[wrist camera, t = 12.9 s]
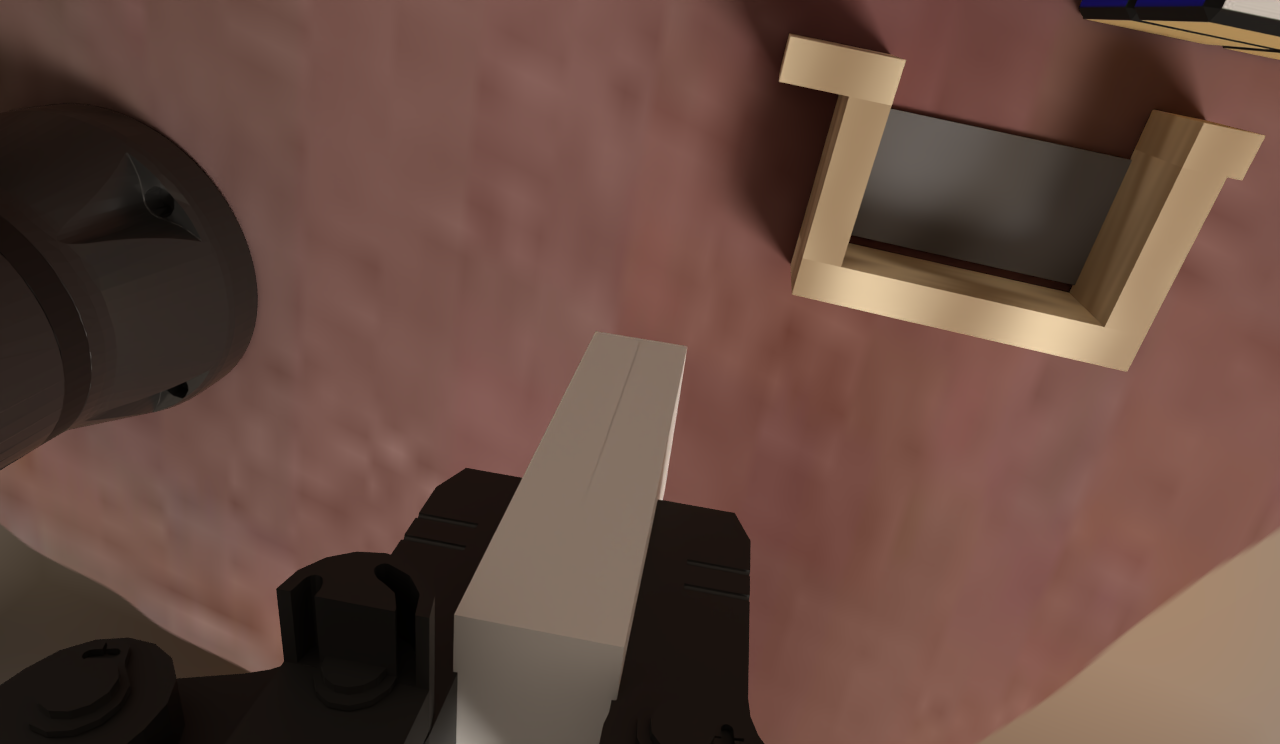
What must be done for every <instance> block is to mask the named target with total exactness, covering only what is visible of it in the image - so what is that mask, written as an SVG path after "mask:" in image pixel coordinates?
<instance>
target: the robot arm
mask: <svg viewBox="0 0 1280 744" xmlns="http://www.w3.org/2000/svg"><path fill="white" fill-rule="evenodd" d="M257 302H258V295H257V282H256V275H255V270H254V265H253V261H252V258H251V254H250V251H249V248H248V245H247V242H246V239H245V237H244V235H243V232H242V230H241V228H240V226H239V224H238V222H237V220H236V218H235V216H234V214H233V212H232V211H231V209H230V207H229V206H228V204H227V202H226V201H225V199H224V198H223V196H222V195H221V193H220V192H219V191H218V189H217V188H216V187H215V185H214V184H213V183H212V182H211V180H210V179H209V178H208V177H207V175H206V174H205V173H204V172H203V171H202V170H201V169H200V168H199V167H198V166H197V164H195V163H194V162H193V161H192V160H191V159H190V158H189V157H188V156H187V155H186V154H185V153H184V152H183V151H181V150H180V149H179V148H178V147H177V146H176V145H174V144H173V143H172V142H170V141H169V140H168V139H166V138H165V137H163V136H162V135H161V134H159V133H158V132H156V131H154V130H153V129H151V128H149V127H148V126H146V125H144V124H142V123H140V122H138V121H136V120H134V119H132V118H130V117H128V116H125V115H123V114H120V113H117V112H115V111H112V110H108V109H105V108H101V107H96V106H91V105H84V104H54V105H46V106H39V107H31V108H24V109H18V110H12V111H8V112H5V113H2V114H0V470H2V469H3V468H5V467H6V466H8V465H10V464H11V463H13V462H15V461H16V460H18V459H19V458H21V457H23V456H24V455H26V454H28V453H29V452H31V451H32V450H34V449H36V448H37V447H39V446H40V445H42V444H44V443H46V442H47V441H49V440H51V439H52V438H54V437H56V436H57V435H59V434H61V433H63V432H65V431H67V430H70V429H75V428H79V427H84V426H89V425H94V424H99V423H104V422H108V421H113V420H118V419H123V418H128V417H132V416H137V415H142V414H147V413H152V412H156V411H160V410H164V409H168V408H171V407H174V406H176V405H179V404H181V403H183V402H185V401H187V400H189V399H191V398H193V397H194V396H196V395H198V394H199V393H201V392H202V391H204V390H205V389H207V388H208V387H210V386H211V385H213V384H214V383H216V382H217V381H219V380H220V379H222V378H223V377H224V376H226V375H227V374H228V373H229V372H230V371H231V370H232V369H233V368H234V367H235V366H236V364H237V363H238V362H239V360H240V359H241V358H242V356H243V354H244V353H245V351H246V349H247V347H248V345H249V343H250V340H251V337H252V334H253V331H254V327H255V322H256V316H257ZM686 352H687V346H682V345H676V344H670V343H664V342H658V341H652V340H645V339H639V338H633V337H627V336H621V335H615V334H609V333H603V332H597V331H596V332H595V334H594V336H593V338H592V340H591V342H590V344H589V346H588V348H587V350H586V352H585V354H584V356H583V358H582V360H581V362H580V364H579V366H578V368H577V370H576V372H575V374H574V376H573V378H572V380H571V382H570V384H569V386H568V388H567V390H566V392H565V394H564V396H563V398H562V400H561V402H560V404H559V406H558V408H557V410H556V412H555V414H554V416H553V418H552V420H551V422H550V424H549V426H548V428H547V430H546V432H545V434H544V436H543V438H542V440H541V442H540V444H539V446H538V448H537V450H536V452H535V454H534V456H533V458H532V460H531V462H530V464H529V466H528V468H527V470H526V472H525V474H524V476H523V478H520V477H514V476H509V475H503V474H497V473H492V472H486V471H481V470H475V469H469V468H465V469H464V470H462V471H461V472H459V473H458V474H456V475H454V476H453V477H451V478H450V479H448V480H447V481H445V482H443V483H442V484H440V485H439V486H437V487H436V488H435V490H434V491H433V493H432V494H431V496H430V497H429V499H428V500H427V502H426V503H425V505H424V506H423V508H422V509H421V511H420V512H419V516H418V518H415V520H414V521H413V523H412V524H411V526H410V527H409V529H408V530H407V532H406V533H405V537H404V540H401V541H400V542H399V544H398V545H397V547H396V548H395V550H394V551H393V553H392V554H391V555H390V554H387V553H372V552H353V553H347V554H342V555H337V556H331V557H326V558H324V559H322V560H319V561H317V562H315V563H313V564H311V565H308V566H306V567H304V568H302V569H300V570H298V571H296V572H295V573H294V574H293V575H292V576H291V577H289V578H288V579H287V580H286V581H285V582H284V583H282V584H281V585H280V586H279V587H278V588H277V589H276V590H277V600H278V609H279V618H280V627H281V636H282V645H283V655H284V662H283V664H282V665H281V666H280V667H277V668H274V669H271V670H265V671H258V672H252V673H246V674H233V675H219V676H206V677H193V678H179V679H176V674H175V670H174V665H173V660H172V658H171V657H170V656H169V655H168V654H166V653H165V652H164V651H163V650H162V649H160V648H159V647H158V646H157V645H156V644H153V643H149V642H144V641H141V640H136V639H132V638H117V639H102V640H101V639H100V640H93V641H90V642H86V643H83V644H80V645H76V646H73V647H69V648H66V649H63V650H59V651H58V652H56V653H54V654H52V655H50V656H48V657H46V658H44V659H42V660H41V661H39V662H37V663H35V664H33V665H31V666H29V667H27V668H25V669H24V670H22V671H21V672H20V673H18V674H16V675H15V676H14V677H12V678H11V679H9V680H8V681H6V682H4V683H3V684H1V685H0V744H764V743H763V741H762V740H761V739H760V737H759V736H758V734H757V731H756V729H755V726H754V724H753V722H752V719H751V717H750V710H749V703H748V666H749V603H750V602H749V596H750V576H749V574H750V539H749V538H748V536H747V534H746V532H745V530H744V529H743V527H742V525H741V523H740V522H739V520H738V518H737V516H736V515H735V513H731V512H726V511H720V510H714V509H709V508H703V507H698V506H692V505H686V504H681V503H675V502H670V501H664V500H663V496H664V491H665V485H666V479H667V472H668V466H669V460H670V453H671V447H672V441H673V434H674V428H675V422H676V415H677V409H678V403H679V396H680V390H681V384H682V377H683V371H684V365H685V358H686Z"/></svg>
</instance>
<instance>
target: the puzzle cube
mask: <svg viewBox="0 0 1280 744" xmlns="http://www.w3.org/2000/svg"><path fill="white" fill-rule="evenodd" d="M1079 9H1080V12H1081V14H1082V16H1083V18H1084V19H1086V20H1091V21H1096V22H1100V23H1105V24H1110V25H1115V26H1120V27H1124V28H1129V29H1134V30H1139V31H1144V32H1149V33H1153V34H1158V35H1163V36H1168V37H1173V38H1177V39H1182V40H1187V41H1192V42H1197V43H1201V44H1208V45H1221V46H1223V48H1225V49H1230V50H1235V51H1240V52H1245V53H1249V54H1254V55H1259V56H1264V57H1269V58H1273V59H1278V60H1280V0H1082V1H1081V4H1080V6H1079Z"/></svg>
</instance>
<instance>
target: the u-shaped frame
mask: <svg viewBox="0 0 1280 744" xmlns="http://www.w3.org/2000/svg"><path fill="white" fill-rule="evenodd" d="M905 61H906V60H904V59H901V58H899V57H896V56H893V55H891V54H886V53H881V52H877V51H872V50H867V49H862V48H858V47H853V46H848V45H843V44H838V43H834V42H829V41H824V40H819V39H815V38H810V37H805V36H800V35H795V34H791V33H789V36H788V40H787V44H786V48H785V52H784V56H783V60H782V64H781V68H780V72H779V82H783V83H788V84H793V85H797V86H802V87H807V88H811V89H816V90H821V91H825V92H830V93H835V94H839V96H838V99H837V103H836V106H835V110H834V113H833V117H832V121H831V124H830V128H829V131H828V135H827V138H826V142H825V145H824V149H823V152H822V156H821V159H820V163H819V166H818V170H817V173H816V177H815V181H814V184H813V188H812V191H811V195H810V198H809V202H808V205H807V209H806V212H805V216H804V219H803V223H802V226H801V230H800V233H799V237H798V241H797V244H796V248H795V251H794V255H793V258H792V262H791V284H792V295H797V296H801V297H805V298H810V299H814V300H818V301H823V302H827V303H831V304H836V305H840V306H844V307H849V308H853V309H857V310H862V311H866V312H870V313H875V314H879V315H883V316H888V317H892V318H896V319H901V320H905V321H909V322H914V323H918V324H922V325H927V326H931V327H935V328H940V329H944V330H948V331H953V332H957V333H961V334H966V335H970V336H974V337H979V338H983V339H987V340H992V341H996V342H1000V343H1005V344H1009V345H1013V346H1018V347H1022V348H1026V349H1031V350H1035V351H1039V352H1044V353H1048V354H1052V355H1057V356H1061V357H1065V358H1070V359H1074V360H1078V361H1083V362H1087V363H1091V364H1096V365H1100V366H1104V367H1109V368H1113V369H1117V370H1122V371H1126V372H1127V371H1128V369H1129V367H1130V365H1131V363H1132V361H1133V359H1134V357H1135V355H1136V353H1137V351H1138V349H1139V347H1140V346H1141V344H1142V342H1143V340H1144V338H1145V336H1146V334H1147V332H1148V330H1149V328H1150V326H1151V324H1152V322H1153V320H1154V318H1155V316H1156V314H1157V312H1158V311H1159V309H1160V307H1161V305H1162V303H1163V301H1164V299H1165V297H1166V295H1167V293H1168V291H1169V289H1170V287H1171V285H1172V283H1173V281H1174V279H1175V278H1176V276H1177V274H1178V272H1179V270H1180V268H1181V266H1182V264H1183V262H1184V260H1185V258H1186V256H1187V254H1188V252H1189V250H1190V248H1191V246H1192V244H1193V243H1194V241H1195V239H1196V237H1197V235H1198V233H1199V231H1200V229H1201V227H1202V225H1203V223H1204V221H1205V219H1206V217H1207V215H1208V213H1209V211H1210V209H1211V208H1212V206H1213V204H1214V202H1215V200H1216V198H1217V196H1218V194H1219V192H1220V190H1221V188H1222V186H1223V184H1224V182H1225V180H1226V178H1227V177H1228V178H1233V179H1238V180H1243V178H1244V176H1245V174H1246V172H1247V170H1248V168H1249V166H1250V164H1251V163H1252V161H1253V159H1254V157H1255V155H1256V153H1257V151H1258V149H1259V147H1260V145H1261V143H1262V142H1263V140H1264V138H1265V135H1261V134H1257V133H1253V132H1249V131H1245V130H1242V129H1238V128H1234V127H1230V126H1226V125H1222V124H1218V123H1214V122H1210V121H1207V120H1202V119H1197V118H1192V117H1187V116H1183V115H1178V114H1173V113H1168V112H1164V111H1159V110H1154V109H1153V110H1152V112H1151V114H1150V117H1149V119H1148V121H1147V123H1146V125H1145V128H1144V130H1143V132H1142V134H1141V136H1140V139H1139V141H1138V143H1137V145H1136V147H1135V150H1134V152H1133V154H1132V156H1131V158H1130V159H1126V158H1121V157H1116V156H1111V155H1107V154H1102V153H1097V152H1093V151H1088V150H1083V149H1079V148H1074V147H1069V146H1065V145H1060V144H1055V143H1051V142H1046V141H1041V140H1037V139H1032V138H1027V137H1023V136H1018V135H1013V134H1008V133H1004V132H999V131H994V130H990V129H985V128H980V127H976V126H971V125H966V124H962V123H957V122H952V121H948V120H943V119H938V118H934V117H929V116H924V115H920V114H915V113H910V112H906V111H901V110H896V109H891V106H892V103H893V100H894V96H895V93H896V90H897V87H898V84H899V80H900V77H901V74H902V71H903V68H904V65H905ZM851 235H853V236H858V237H862V238H867V239H871V240H876V241H880V242H884V243H889V244H893V245H898V246H902V247H907V248H911V249H916V250H920V251H924V252H929V253H933V254H938V255H942V256H947V257H951V258H956V259H960V260H965V261H969V262H973V263H978V264H982V265H987V266H991V267H996V268H1000V269H1005V270H1009V271H1013V272H1018V273H1022V274H1027V275H1031V276H1036V277H1040V278H1045V279H1049V280H1053V281H1058V282H1062V283H1067V284H1071V285H1073V286H1072V288H1071V290H1070V292H1064V291H1060V290H1055V289H1051V288H1046V287H1042V286H1037V285H1033V284H1029V283H1024V282H1020V281H1015V280H1011V279H1006V278H1002V277H998V276H993V275H989V274H984V273H980V272H975V271H971V270H967V269H962V268H958V267H953V266H949V265H944V264H940V263H935V262H931V261H927V260H922V259H918V258H913V257H909V256H904V255H900V254H896V253H891V252H887V251H882V250H878V249H873V248H869V247H865V246H860V245H856V244H851V243H849V240H850V237H851Z"/></svg>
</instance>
